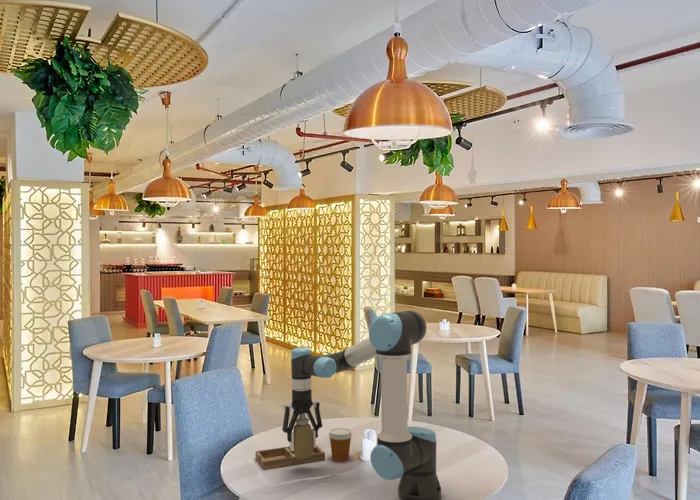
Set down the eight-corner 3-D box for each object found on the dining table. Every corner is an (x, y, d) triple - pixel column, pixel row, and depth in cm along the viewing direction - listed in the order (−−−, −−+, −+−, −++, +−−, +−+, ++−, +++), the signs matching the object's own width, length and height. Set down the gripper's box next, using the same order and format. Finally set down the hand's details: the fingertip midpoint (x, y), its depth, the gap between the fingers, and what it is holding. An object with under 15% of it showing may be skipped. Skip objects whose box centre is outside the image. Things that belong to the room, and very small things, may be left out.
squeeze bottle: (289, 455, 230) (288, 408, 230) (309, 452, 233) (308, 406, 233) (296, 461, 222) (295, 413, 223) (316, 458, 226) (315, 410, 226)
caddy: (324, 462, 238) (324, 452, 238) (263, 472, 228) (263, 462, 228) (313, 452, 250) (313, 442, 250) (255, 461, 240) (255, 451, 240)
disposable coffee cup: (349, 466, 234) (349, 435, 234) (326, 464, 236) (326, 434, 236) (354, 457, 244) (354, 428, 244) (331, 455, 246) (331, 427, 245)
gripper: (323, 384, 235) (324, 441, 235) (272, 389, 227) (273, 449, 227) (330, 387, 229) (331, 447, 228) (278, 393, 220) (279, 455, 220)
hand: (302, 448), depth 228 cm, fingers closed on squeeze bottle, 8 cm apart
